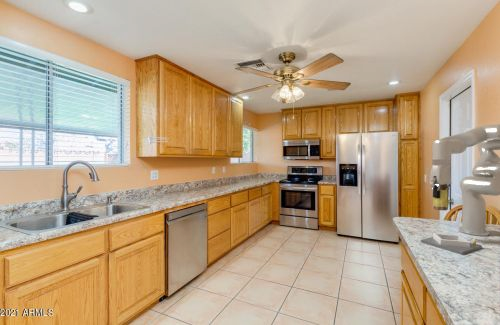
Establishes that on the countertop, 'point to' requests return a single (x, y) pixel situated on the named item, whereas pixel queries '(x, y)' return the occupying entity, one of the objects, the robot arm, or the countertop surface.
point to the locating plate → (451, 248)
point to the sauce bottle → (441, 199)
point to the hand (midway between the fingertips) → (440, 197)
